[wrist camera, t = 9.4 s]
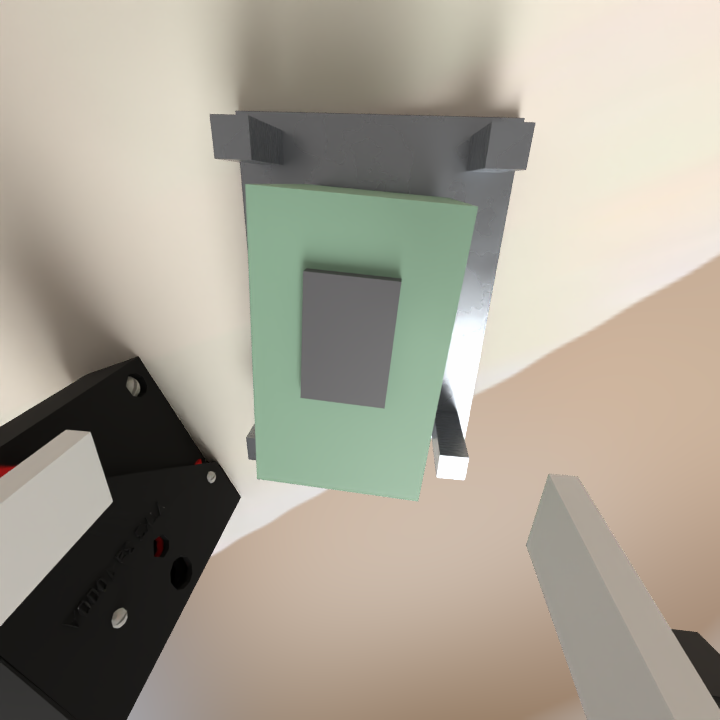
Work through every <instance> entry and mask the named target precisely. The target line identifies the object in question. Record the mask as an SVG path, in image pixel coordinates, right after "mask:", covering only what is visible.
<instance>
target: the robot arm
mask: <svg viewBox="0 0 720 720" xmlns="http://www.w3.org/2000/svg"><path fill="white" fill-rule="evenodd" d="M112 502H113V500H112V497H111V494H110V491H109V488H108V485H107V482H106V478H105V475H104V472H103V469H102V466H101V463H100V460H99V457H98V454H97V451H96V447H95V444H94V441H93V438H92V435H91V432H86V431H75V430H65V431H64V432H62V433H61V434H60V435H58V436H57V437H55V438H54V439H53V440H51V441H50V442H49V443H47V444H46V445H45V446H43V447H42V448H41V449H39V450H38V451H36V452H35V453H34V454H32V455H31V456H30V457H28V458H27V459H26V460H24V461H23V462H21V463H20V464H19V465H17V466H16V467H15V468H13V469H12V470H11V471H9V472H8V473H7V474H5V475H4V476H2V477H1V478H0V626H1V625H2V624H3V623H4V622H5V620H6V619H7V618H8V617H9V616H10V615H11V614H12V613H13V612H14V611H15V609H16V608H17V607H18V606H19V605H20V604H21V603H22V602H23V601H24V599H25V598H26V597H27V596H28V595H29V594H30V593H31V592H32V591H33V589H34V588H35V587H36V586H37V585H38V584H39V583H40V582H41V581H42V580H43V578H44V577H45V576H46V575H47V574H48V573H49V572H50V571H51V570H52V568H53V567H54V566H55V565H56V564H57V563H58V562H59V561H60V560H61V559H62V557H63V556H64V555H65V554H66V553H67V552H68V551H69V550H70V549H71V547H72V546H73V545H74V544H75V543H76V542H77V541H78V540H79V539H80V538H81V536H82V535H83V534H84V533H85V532H86V531H87V530H88V529H89V528H90V526H91V525H92V524H93V523H94V522H95V521H96V520H97V519H98V518H99V517H100V515H101V514H102V513H103V512H104V511H105V510H106V509H107V508H108V507H109V505H110V504H111V503H112ZM526 546H527V549H528V552H529V555H530V557H531V560H532V563H533V566H534V569H535V572H536V575H537V578H538V581H539V583H540V586H541V589H542V592H543V594H544V598H545V600H546V603H547V606H548V609H549V612H550V615H551V618H552V621H553V623H554V626H555V629H556V632H557V635H558V638H559V641H560V644H561V646H562V649H563V652H564V655H565V658H566V661H567V664H568V666H569V669H570V672H571V675H572V678H573V681H574V683H575V686H576V689H577V692H578V695H579V698H580V701H581V704H582V707H583V709H584V712H585V715H586V718H587V720H720V654H719V653H718V652H717V651H716V650H715V649H714V648H713V647H712V646H711V645H710V644H709V643H708V642H707V641H706V640H705V639H704V638H703V637H702V636H701V635H700V634H699V633H697V632H692V631H683V630H674V629H671V628H670V627H669V625H668V624H667V622H666V620H665V619H664V617H663V615H662V614H661V612H660V611H659V609H658V607H657V606H656V604H655V602H654V601H653V599H652V597H651V596H650V594H649V592H648V591H647V589H646V587H645V586H644V584H643V582H642V581H641V579H640V578H639V576H638V574H637V573H636V571H635V569H634V568H633V566H632V564H631V563H630V561H629V559H628V558H627V556H626V555H625V553H624V551H623V550H622V548H621V547H620V545H619V543H618V541H617V540H616V538H615V536H614V535H613V533H612V531H611V530H610V528H609V527H608V525H607V523H606V522H605V520H604V518H603V517H602V515H601V513H600V512H599V510H598V508H597V507H596V505H595V504H594V502H593V500H592V499H591V497H590V495H589V494H588V492H587V490H586V489H585V487H584V485H583V484H582V482H581V481H580V479H579V477H578V476H568V475H557V474H549V475H548V477H547V481H546V484H545V487H544V490H543V493H542V496H541V499H540V503H539V506H538V509H537V512H536V515H535V519H534V522H533V525H532V528H531V531H530V534H529V537H528V541H527V544H526Z"/></svg>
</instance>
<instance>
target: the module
mask: <svg viewBox="0 0 720 720" xmlns="http://www.w3.org/2000/svg"><path fill="white" fill-rule="evenodd" d="M245 190H246V215H247V239H248V264H249V289H250V314H251V339H252V364H253V389H254V414H255V438H256V463H257V479H262V480H269V481H276V482H283V483H290V484H297V485H305V486H312V487H319V488H326V489H333V490H340V491H348V492H355V493H362V494H370V495H376V496H383V497H391V498H397V499H405V500H412V501H418V499H419V494H420V490H421V484H422V480H423V475H424V469H425V465H426V460H427V455H428V450H429V445H430V441H431V436H432V431H433V426H434V421H435V416H436V411H437V406H438V401H439V396H440V392H441V387H442V382H443V377H444V372H445V367H446V362H447V357H448V352H449V348H450V343H451V338H452V333H453V328H454V323H455V318H456V313H457V308H458V303H459V299H460V294H461V289H462V284H463V279H464V274H465V269H466V264H467V259H468V254H469V250H470V245H471V240H472V235H473V230H474V225H475V220H476V215H477V210H478V206H474V205H471V204H468V203H464V202H461V201H458V200H454V199H451V198H445V197H435V196H424V195H414V194H404V193H393V192H383V191H372V190H362V189H352V188H341V187H331V186H321V185H310V184H245Z"/></svg>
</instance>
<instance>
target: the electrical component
mask: <svg viewBox="0 0 720 720" xmlns="http://www.w3.org/2000/svg"><path fill="white" fill-rule="evenodd" d="M65 430H75V431H86V432H91V435H92V438H93V441H94V444H95V447H96V451H97V454H98V457H99V460H100V463H101V466H102V469H103V472H104V475H105V478H106V482H107V485H108V488H109V491H110V494H111V497H112V500H113V502H112V503H111V504H110V505H109V507H108V508H107V509H106V510H105V511H104V512H103V513H102V514H101V515H100V517H99V518H98V519H97V520H96V521H95V522H94V523H93V524H92V525H91V526H90V528H89V529H88V530H87V531H86V532H85V533H84V534H83V535H82V536H81V538H80V539H79V540H78V541H77V542H76V543H75V544H74V545H73V546H72V547H71V549H70V550H69V551H68V552H67V553H66V554H65V555H64V556H63V557H62V559H61V560H60V561H59V562H58V563H57V564H56V565H55V566H54V567H53V568H52V570H51V571H50V572H49V573H48V574H47V575H46V576H45V577H44V578H43V580H42V581H41V582H40V583H39V584H38V585H37V586H36V587H35V588H34V589H33V591H32V592H31V593H30V594H29V595H28V596H27V597H26V598H25V599H24V601H23V602H22V603H21V604H20V605H19V606H18V607H17V608H16V609H15V611H14V612H13V613H12V614H11V615H10V616H9V617H8V618H7V619H6V620H5V622H4V623H3V624H2V625H1V626H0V720H127V718H128V716H129V714H130V712H131V710H132V708H133V706H134V704H135V702H136V700H137V698H138V696H139V694H140V692H141V691H142V688H143V687H144V685H145V683H146V681H147V679H148V677H149V675H150V673H151V671H152V669H153V667H154V665H155V663H156V661H157V659H158V658H159V656H160V653H161V652H162V650H163V648H164V646H165V644H166V642H167V640H168V638H169V636H170V634H171V632H172V630H173V628H174V626H175V624H176V622H177V620H178V619H179V617H180V615H181V613H182V611H183V609H184V607H185V605H186V603H187V601H188V599H189V597H190V595H191V593H192V591H193V589H194V587H195V585H196V583H197V581H198V580H199V578H200V576H201V574H202V572H203V570H204V568H205V566H206V564H207V562H208V560H209V558H210V556H211V554H212V552H213V550H214V549H215V547H216V545H217V543H218V541H219V539H220V537H221V535H222V533H223V531H224V529H225V527H226V525H227V523H228V521H229V519H230V517H231V515H232V513H233V512H234V510H235V508H236V506H237V504H238V502H239V500H240V498H241V497H240V495H239V494H238V492H237V491H236V489H235V487H234V486H233V484H232V483H231V481H230V480H229V478H228V477H227V475H226V474H225V472H224V471H223V469H222V468H221V466H220V465H218V463H217V462H210V463H207V462H206V460H205V458H204V457H203V455H202V454H201V452H200V451H199V449H198V448H197V446H196V445H195V443H194V441H193V440H192V438H191V437H190V435H189V434H188V432H187V431H186V429H185V428H184V426H183V424H182V423H181V421H180V420H179V418H178V417H177V415H176V414H175V412H174V411H173V409H172V408H171V406H170V404H169V403H168V401H167V400H166V398H165V397H164V395H163V394H162V392H161V391H160V389H159V387H158V386H157V384H156V383H155V381H154V380H153V378H152V377H151V375H150V374H149V372H148V370H147V369H146V367H145V366H144V364H143V363H142V361H141V360H140V358H139V357H135V358H132V359H130V360H127V361H124V362H121V363H118V364H115V365H113V366H110V367H107V368H104V369H101V370H99V371H96V372H93V373H90V374H87V375H85V376H84V377H82V378H80V379H79V380H77V381H75V382H74V383H72V384H70V385H69V386H67V387H65V388H64V389H62V390H60V391H59V392H57V393H56V394H54V395H52V396H51V397H49V398H47V399H46V400H44V401H42V402H41V403H39V404H37V405H36V406H34V407H32V408H31V409H29V410H27V411H26V412H24V413H22V414H21V415H19V416H18V417H16V418H14V419H13V420H11V421H9V422H8V423H6V424H4V425H3V426H1V427H0V478H1V477H2V476H4V475H5V474H7V473H8V472H9V471H11V470H12V469H13V468H15V467H16V466H17V465H19V464H20V463H21V462H23V461H24V460H26V459H27V458H28V457H30V456H31V455H32V454H34V453H35V452H36V451H38V450H39V449H41V448H42V447H43V446H45V445H46V444H47V443H49V442H50V441H51V440H53V439H54V438H55V437H57V436H58V435H60V434H61V433H62V432H64V431H65Z"/></svg>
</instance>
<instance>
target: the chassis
mask: <svg viewBox="0 0 720 720" xmlns="http://www.w3.org/2000/svg"><path fill="white" fill-rule="evenodd" d="M524 119H525V118H500V117H461V116H421V115H382V114H342V113H302V112H263V111H236V115H226V114H210V121H211V130H212V139H213V148H214V157H215V159H220V160H228V161H235V162H240V168H241V179H242V190H243V202H244V213H245V224H246V236H247V215H246V190H245V184H310V185H321V186H331V187H341V188H352V189H362V190H372V191H383V192H393V193H404V194H414V195H424V196H435V197H445V198H451V199H454V200H458V201H461V202H464V203H468V204H471V205H474V206H478V210H477V215H476V220H475V225H474V230H473V235H472V240H471V245H470V250H469V254H468V259H467V264H466V269H465V274H464V279H463V284H462V289H461V294H460V299H459V303H458V308H457V313H456V318H455V323H454V328H453V333H452V338H451V343H450V348H449V352H448V357H447V362H446V367H445V372H444V377H443V382H442V387H441V392H440V396H439V401H438V406H437V411H436V416H435V421H434V426H433V431H432V436H431V439H432V443H433V452H434V460H435V468H436V476H437V477H438V478H448V479H459V480H465V475H466V470H467V465H468V460H469V457H468V453H467V448H466V444H465V435H466V429H467V424H468V418H469V413H470V408H471V402H472V397H473V392H474V386H475V381H476V376H477V370H478V365H479V360H480V354H481V349H482V344H483V338H484V333H485V328H486V322H487V317H488V312H489V306H490V301H491V296H492V290H493V285H494V279H495V274H496V269H497V263H498V258H499V253H500V247H501V242H502V237H503V231H504V226H505V221H506V215H507V210H508V205H509V199H510V194H511V189H512V183H513V178H514V173H515V171H519V170H526V168H527V162H528V157H529V152H530V147H531V142H532V137H533V132H534V127H535V123H533V122H524ZM247 247H248V239H247ZM246 440H247V449H248V458H249V459H251V460H256V438H255V424H254V426H253V427H252V429H251V431H250V432H249V434H248V435H247V437H246Z"/></svg>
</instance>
